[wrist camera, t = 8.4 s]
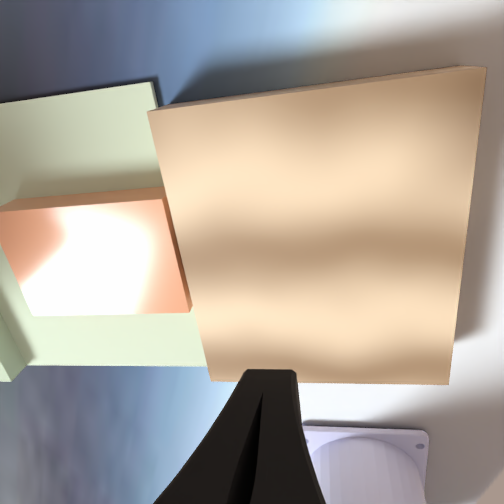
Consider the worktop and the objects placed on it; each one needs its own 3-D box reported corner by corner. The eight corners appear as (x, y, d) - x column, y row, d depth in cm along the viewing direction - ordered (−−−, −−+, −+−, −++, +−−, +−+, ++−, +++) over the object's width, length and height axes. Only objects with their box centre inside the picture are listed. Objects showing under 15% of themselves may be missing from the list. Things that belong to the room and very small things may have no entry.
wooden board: (434, 350, 21) (448, 384, 19) (221, 350, 23) (211, 381, 21) (461, 65, 15) (486, 67, 13) (168, 104, 17) (146, 111, 15)
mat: (215, 362, 24) (208, 385, 22) (19, 361, 26) (0, 381, 25) (152, 81, 17) (135, 84, 15) (-105, 119, 20) (-143, 124, 18)
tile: (200, 291, 21) (189, 312, 19) (55, 295, 23) (33, 315, 21) (176, 185, 18) (161, 198, 17) (14, 199, 20) (-14, 212, 18)
